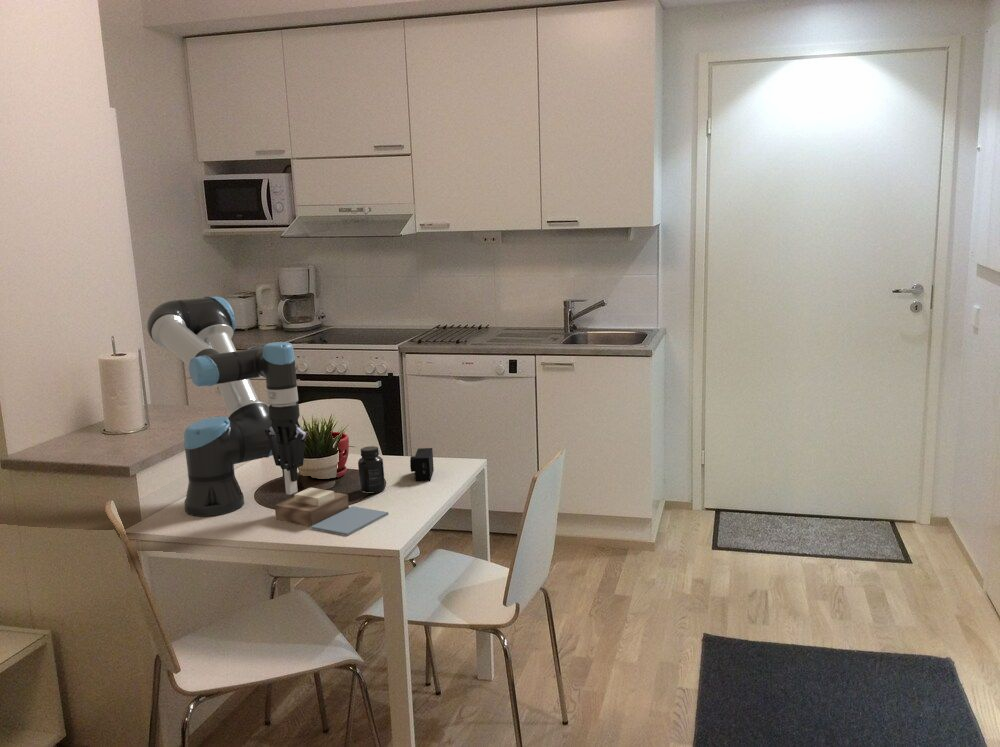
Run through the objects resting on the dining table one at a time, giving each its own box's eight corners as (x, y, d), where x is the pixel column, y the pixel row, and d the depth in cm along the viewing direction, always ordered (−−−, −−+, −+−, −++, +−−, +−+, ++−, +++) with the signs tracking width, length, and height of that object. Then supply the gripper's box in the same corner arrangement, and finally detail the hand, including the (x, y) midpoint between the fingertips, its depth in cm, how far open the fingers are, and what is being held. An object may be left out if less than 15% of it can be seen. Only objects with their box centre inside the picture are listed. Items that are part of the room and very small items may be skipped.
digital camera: (415, 471, 263) (413, 448, 261) (433, 470, 263) (432, 447, 261) (411, 482, 252) (409, 458, 251) (430, 481, 252) (428, 457, 251)
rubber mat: (310, 528, 219) (310, 526, 219) (352, 508, 232) (352, 506, 232) (347, 535, 213) (347, 533, 213) (388, 514, 226) (388, 512, 226)
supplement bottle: (388, 486, 249) (385, 445, 247) (380, 494, 242) (377, 451, 240) (364, 486, 250) (361, 444, 248) (356, 494, 244) (353, 451, 241)
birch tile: (294, 501, 227) (294, 494, 226) (310, 494, 232) (310, 487, 232) (318, 506, 223) (318, 498, 222) (334, 498, 228) (333, 491, 228)
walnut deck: (276, 520, 226) (274, 505, 225) (313, 503, 238) (312, 488, 237) (312, 527, 220) (310, 511, 219) (348, 509, 232) (347, 494, 231)
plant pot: (323, 485, 253) (320, 444, 250) (296, 477, 262) (293, 437, 259) (360, 473, 262) (357, 434, 260) (333, 466, 271) (330, 428, 269)
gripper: (253, 404, 227) (262, 494, 231) (292, 408, 220) (300, 500, 224) (275, 398, 233) (283, 485, 237) (312, 402, 226) (320, 491, 231)
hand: (291, 492), depth 231 cm, fingers closed
